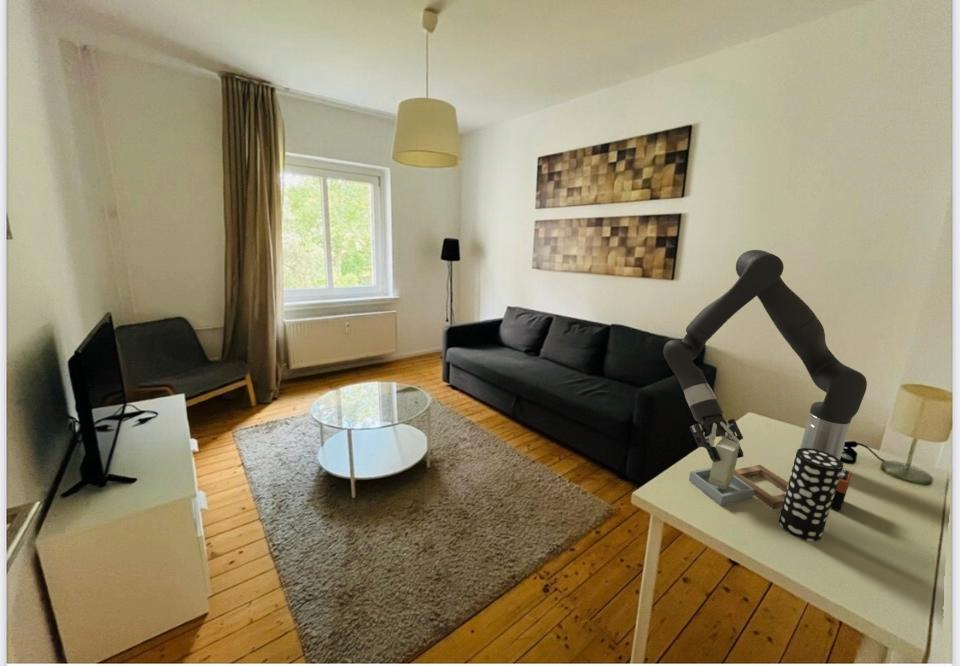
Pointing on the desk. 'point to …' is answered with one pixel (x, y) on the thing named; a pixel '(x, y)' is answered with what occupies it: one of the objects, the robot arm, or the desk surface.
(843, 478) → the battery
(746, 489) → the tray
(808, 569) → the desk surface
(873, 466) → the desk surface
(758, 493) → the brown flat rectangular frame
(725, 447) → the skincare box
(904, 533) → the desk surface
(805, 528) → the white-spotted black cylinder
